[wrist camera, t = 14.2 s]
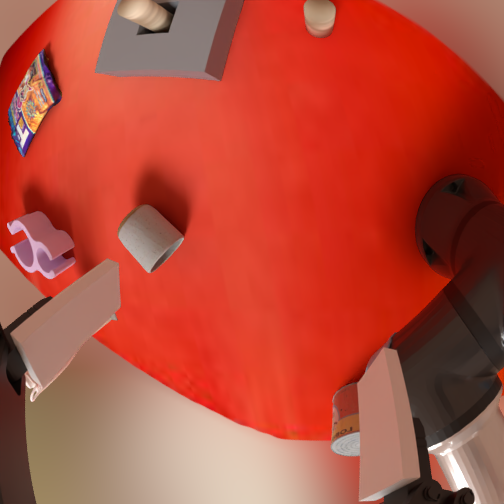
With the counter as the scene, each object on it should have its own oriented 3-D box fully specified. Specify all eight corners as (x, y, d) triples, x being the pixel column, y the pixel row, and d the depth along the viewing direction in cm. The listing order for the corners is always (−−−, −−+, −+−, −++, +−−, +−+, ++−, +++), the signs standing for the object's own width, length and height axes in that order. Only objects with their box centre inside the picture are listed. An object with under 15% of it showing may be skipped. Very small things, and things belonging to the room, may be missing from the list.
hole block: (247, -10, 24) (236, -30, 19) (220, 81, 31) (204, 71, 26) (144, -4, 26) (124, -16, 21) (118, 76, 33) (94, 72, 28)
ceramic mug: (154, 195, 40) (124, 208, 33) (192, 229, 41) (167, 249, 34) (127, 240, 45) (99, 258, 38) (160, 271, 46) (136, 294, 39)
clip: (74, 226, 47) (50, 238, 40) (77, 277, 52) (57, 291, 46) (26, 204, 48) (5, 213, 42) (30, 249, 54) (12, 259, 47)
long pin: (188, 20, 28) (146, -10, 17) (182, 40, 29) (137, 14, 19) (168, 21, 28) (122, -5, 17) (162, 40, 30) (113, 18, 19)
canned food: (334, 383, 47) (333, 433, 37) (388, 378, 45) (396, 427, 34) (331, 413, 52) (328, 457, 41) (379, 409, 49) (383, 453, 38)
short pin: (335, 20, 24) (337, 1, 19) (330, 40, 26) (333, 23, 21) (308, 14, 25) (306, -6, 19) (303, 34, 26) (301, 16, 21)
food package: (72, 103, 37) (56, 104, 33) (23, 172, 46) (10, 176, 42) (52, 37, 31) (38, 35, 27) (6, 108, 40) (-6, 110, 36)
